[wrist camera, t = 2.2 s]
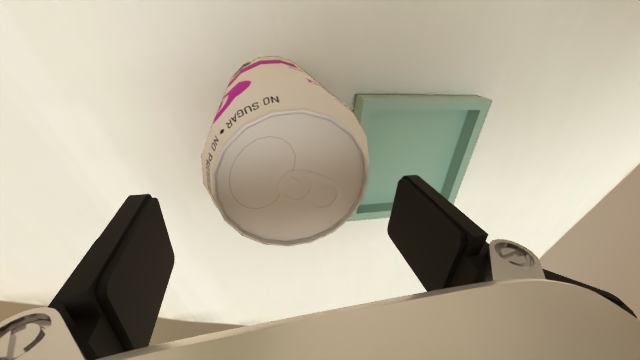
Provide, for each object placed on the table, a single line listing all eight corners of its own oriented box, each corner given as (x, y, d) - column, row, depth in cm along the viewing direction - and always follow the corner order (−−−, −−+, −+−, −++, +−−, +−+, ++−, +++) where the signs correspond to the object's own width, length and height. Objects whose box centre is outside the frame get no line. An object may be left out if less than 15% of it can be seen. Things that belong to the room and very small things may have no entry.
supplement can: (213, 125, 24) (172, 234, 12) (246, 36, 21) (238, 49, 9) (293, 156, 27) (327, 267, 15) (330, 82, 25) (414, 142, 12)
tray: (476, 95, 29) (492, 100, 27) (440, 201, 36) (450, 211, 34) (355, 94, 26) (363, 99, 24) (341, 210, 32) (347, 221, 31)
